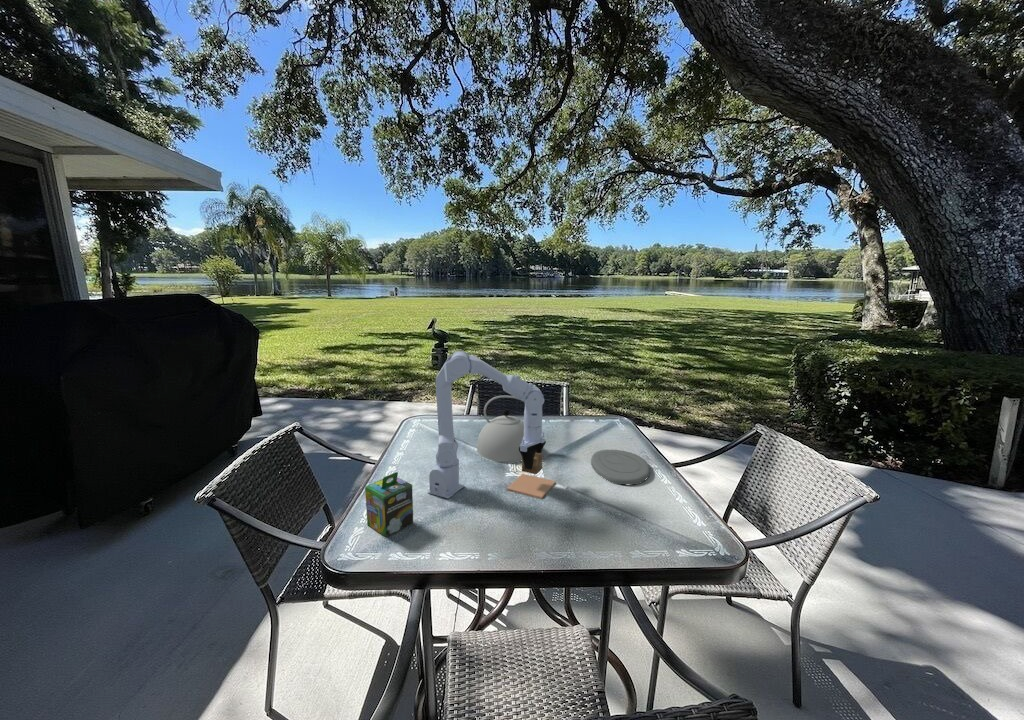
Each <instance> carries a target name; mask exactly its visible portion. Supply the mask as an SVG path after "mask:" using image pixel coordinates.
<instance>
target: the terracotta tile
mask: <svg viewBox="0 0 1024 720" xmlns="http://www.w3.org/2000/svg"><path fill="white" fill-rule="evenodd" d="M555 484H556V480H551V479H547V478H542V477H539V476H536V475H535V476H534V475H530V474H525V473H522V474H521V475H519V476H518V477H517V478H516V479H515V480H514V481H513V482H512V483H511V484H509V486H507V487H506V491H509V492H513V493H517V494H521V495H525V496H528V497H532V498H536V499H540V500H542V499H543V498H544V497H545V495H546V494H548V492H550V490H551V489H552V488H553V486H554V485H555Z"/></svg>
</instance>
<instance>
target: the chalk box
mask: <svg viewBox="0 0 1024 720" xmlns="http://www.w3.org/2000/svg"><path fill="white" fill-rule="evenodd" d="M398 474H399V473H398V471H396V472H393V473H391V474H388V475H386V476H384V477H383V478H382V479H380V480H377V481H374V482H372V483H371V484H369V485H366V486H365V488H364V491H365V494H364V495H365V508H366V524H367V525H366V526H369V527H370V528H371V529H373V530H374V531H375V532H378V534H380V535H382V536H384V537H385V538H387V537H389V536H392V535H393V534H395V533H397V532H399V531H401V530H403V529H405V528H407V527H409V526H412V525H413V524H414V505H413V504H414V500H413V496H414V495H413V484H412V483H410V482H409V481H406V480H403V479H402V478H400V477H398Z"/></svg>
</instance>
